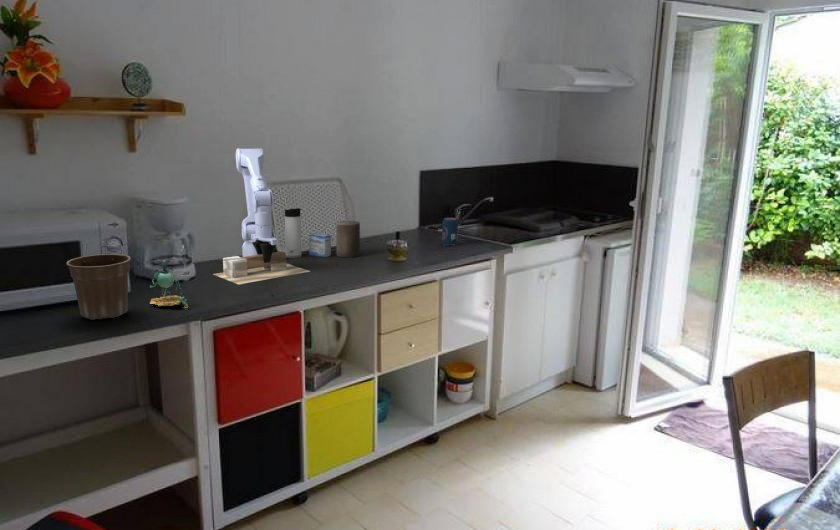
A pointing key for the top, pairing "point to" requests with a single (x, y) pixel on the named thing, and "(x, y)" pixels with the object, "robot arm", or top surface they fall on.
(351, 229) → the pillar candle
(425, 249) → the top surface
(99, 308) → the plant pot
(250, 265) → the slat
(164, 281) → the frog figurine
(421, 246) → the top surface
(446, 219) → the soda can
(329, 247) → the medicine box
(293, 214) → the travel mug
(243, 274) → the slat board
